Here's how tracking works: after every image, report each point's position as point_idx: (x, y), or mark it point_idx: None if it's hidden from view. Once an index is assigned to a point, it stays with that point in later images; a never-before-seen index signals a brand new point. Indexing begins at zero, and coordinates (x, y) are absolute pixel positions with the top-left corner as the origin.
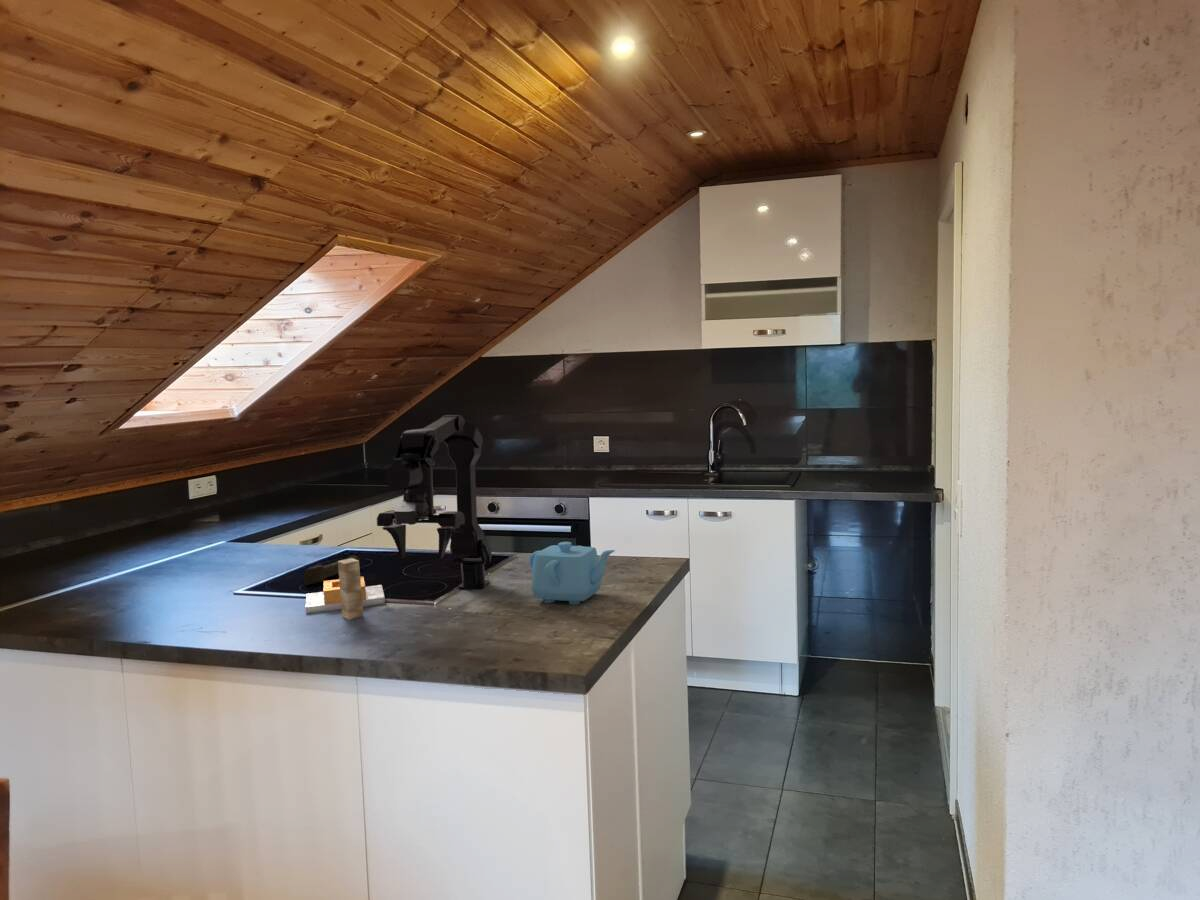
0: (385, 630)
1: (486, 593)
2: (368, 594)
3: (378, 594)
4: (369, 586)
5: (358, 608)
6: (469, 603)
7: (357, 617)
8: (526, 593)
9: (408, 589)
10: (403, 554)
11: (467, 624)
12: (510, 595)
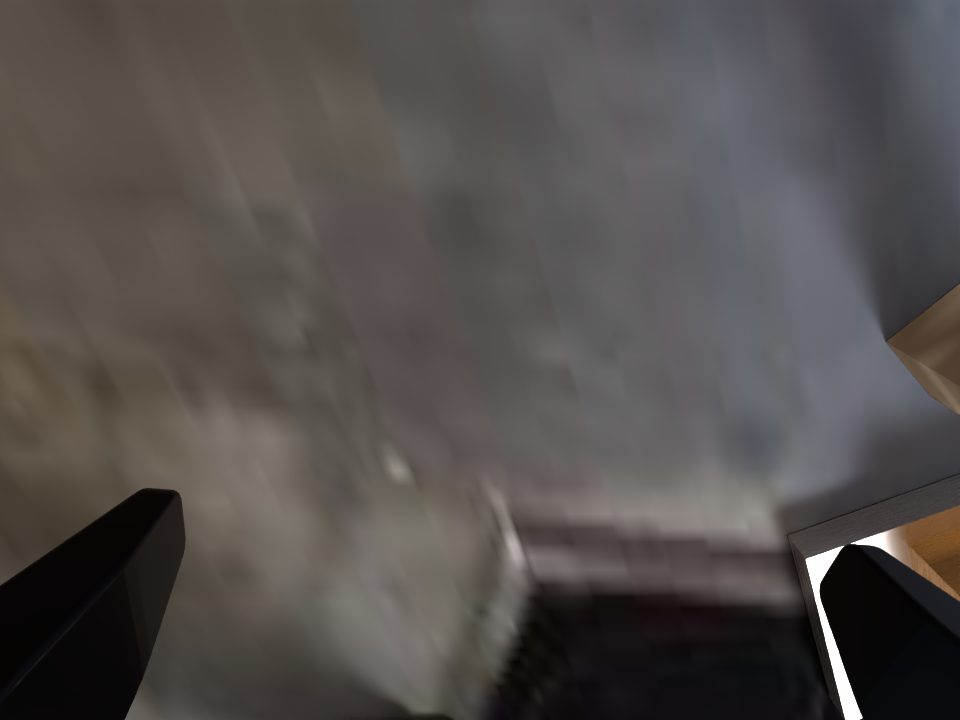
0: (702, 45)
1: (285, 677)
2: None
3: None
4: None
5: (948, 344)
6: (314, 543)
7: (918, 316)
8: None
9: (704, 712)
10: (857, 601)
11: (148, 167)
12: None
